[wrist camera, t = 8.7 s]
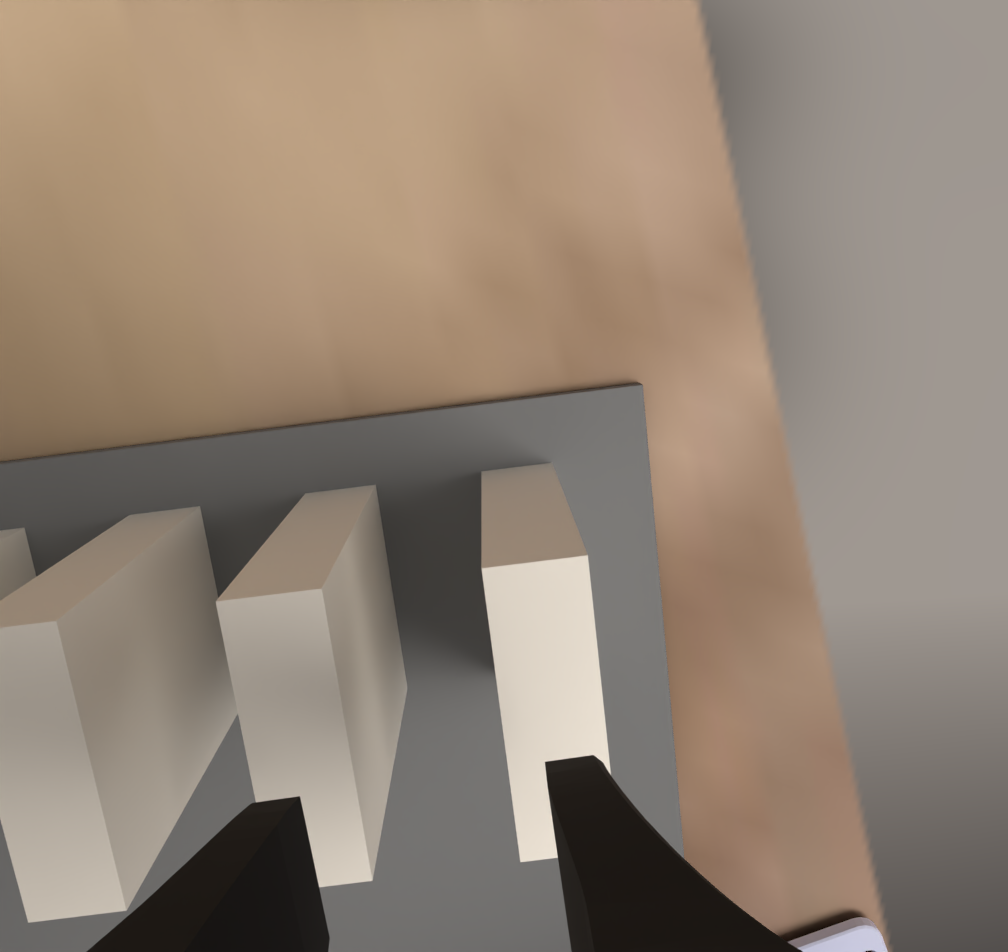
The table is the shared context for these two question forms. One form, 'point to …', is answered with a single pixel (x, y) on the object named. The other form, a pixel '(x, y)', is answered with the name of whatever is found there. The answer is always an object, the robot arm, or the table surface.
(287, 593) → the tile
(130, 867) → the tile
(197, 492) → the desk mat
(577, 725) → the tile
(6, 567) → the tile
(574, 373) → the table surface
